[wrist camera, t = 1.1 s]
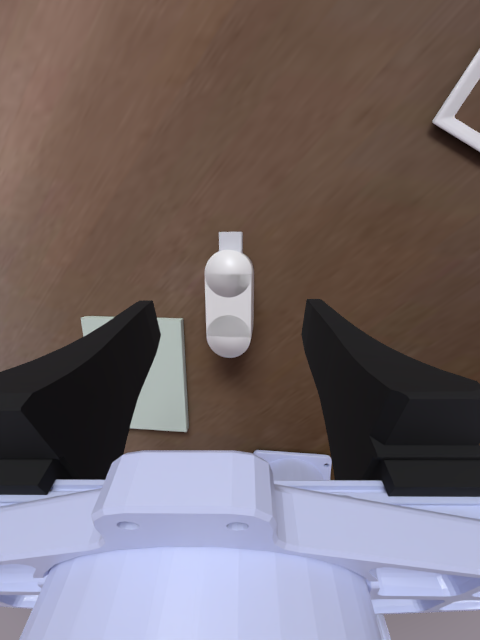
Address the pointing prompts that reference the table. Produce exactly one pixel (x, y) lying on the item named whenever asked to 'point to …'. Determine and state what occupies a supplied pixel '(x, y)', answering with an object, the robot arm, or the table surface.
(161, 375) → the sage pad
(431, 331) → the table surface
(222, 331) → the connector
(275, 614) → the robot arm
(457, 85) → the dessert
